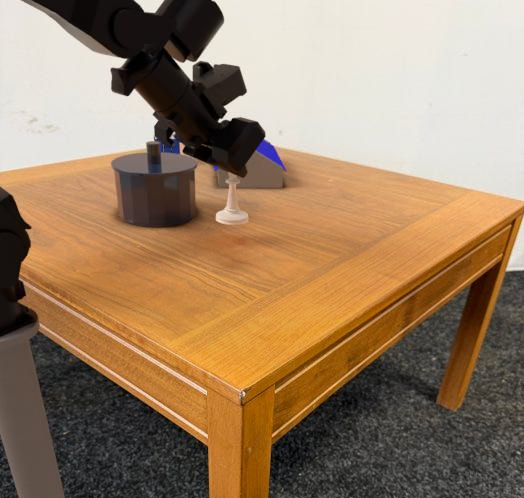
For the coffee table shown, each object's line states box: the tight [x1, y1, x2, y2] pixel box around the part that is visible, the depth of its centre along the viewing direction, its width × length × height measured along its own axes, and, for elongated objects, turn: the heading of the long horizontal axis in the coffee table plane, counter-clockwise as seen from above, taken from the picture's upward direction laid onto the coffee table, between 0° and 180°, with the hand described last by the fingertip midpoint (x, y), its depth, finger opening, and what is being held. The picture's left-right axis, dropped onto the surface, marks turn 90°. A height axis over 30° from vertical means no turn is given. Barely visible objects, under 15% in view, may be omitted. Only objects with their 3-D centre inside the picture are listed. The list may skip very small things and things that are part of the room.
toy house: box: [213, 138, 288, 189], centre depth 114 cm, size 22×14×7 cm, turn 6°
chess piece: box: [214, 172, 250, 226], centre depth 79 cm, size 5×5×10 cm
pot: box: [113, 169, 197, 228], centre depth 90 cm, size 13×13×8 cm
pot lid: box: [110, 140, 198, 177], centre depth 87 cm, size 14×14×4 cm
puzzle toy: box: [153, 132, 181, 154], centre depth 120 cm, size 6×5×6 cm
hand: (240, 173), depth 79 cm, fingers closed on chess piece
